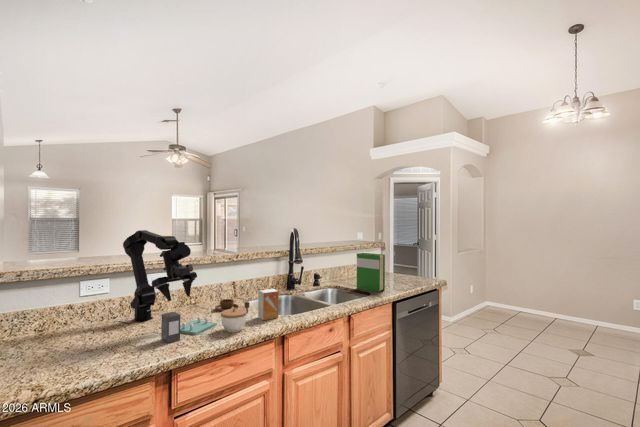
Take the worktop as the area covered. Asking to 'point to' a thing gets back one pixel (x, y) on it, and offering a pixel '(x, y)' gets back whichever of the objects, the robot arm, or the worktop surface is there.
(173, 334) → the plate
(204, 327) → the pin tray
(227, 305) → the place setting
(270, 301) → the small box
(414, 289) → the worktop surface
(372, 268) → the hardback book
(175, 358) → the worktop surface
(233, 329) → the lidded jar
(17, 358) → the worktop surface
